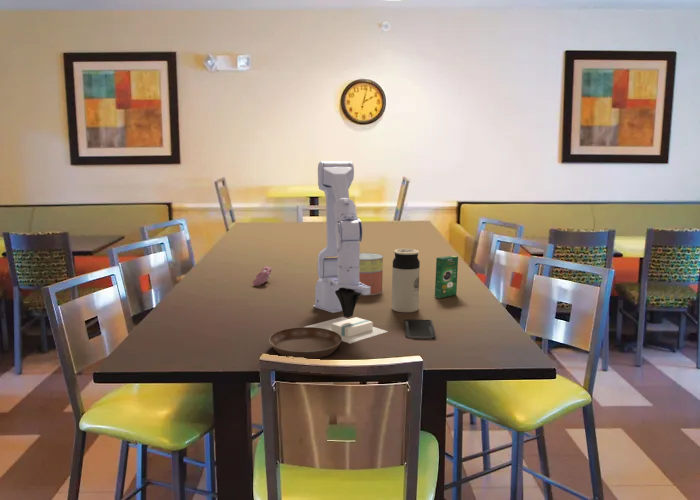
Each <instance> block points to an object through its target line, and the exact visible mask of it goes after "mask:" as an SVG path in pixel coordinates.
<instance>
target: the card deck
mask: <svg viewBox="0 0 700 500" xmlns="http://www.w3.org/2000/svg"><path fill="white" fill-rule="evenodd" d="M373 327H374V322H373V321H370V320H369V319H365V318H364V319H363V318H361V317H357V316H355V317H352V318H347V320H343V321H340V322H336V323H332V324H331V331H334V332H336V333H338V334H340V335H342V336H346V337H350V336H354V335H357V334H361V333H364V332H368V331H371V330H373Z"/></svg>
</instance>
